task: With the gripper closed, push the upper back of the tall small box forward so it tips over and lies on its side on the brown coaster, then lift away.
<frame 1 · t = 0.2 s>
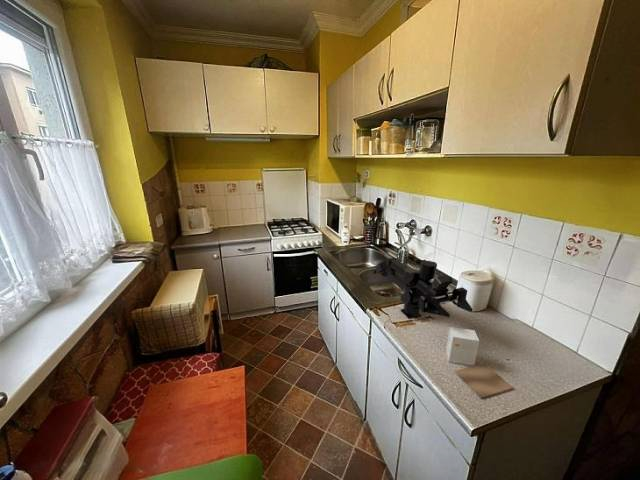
hand: (460, 313, 86), 16 cm above the worktop, tool horizontal, fingers open, 9 cm apart
small box: (459, 359, 89), on the worktop
brown coaster: (482, 380, 80), on the worktop
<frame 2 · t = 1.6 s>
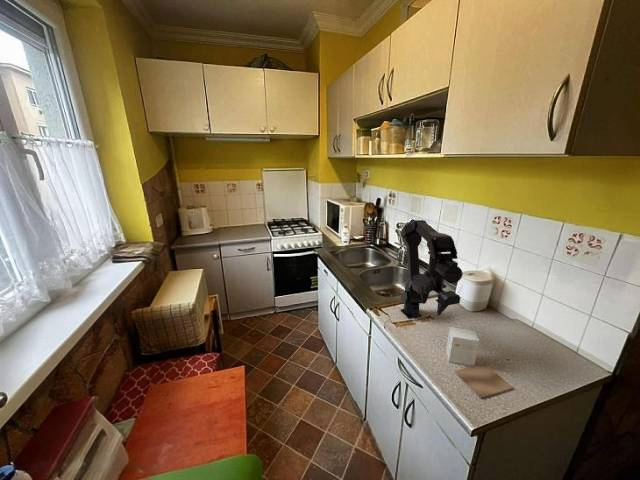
hand: (431, 308, 95), 13 cm above the worktop, tool pointing down, fingers open, 8 cm apart
nothing on the worktop moved.
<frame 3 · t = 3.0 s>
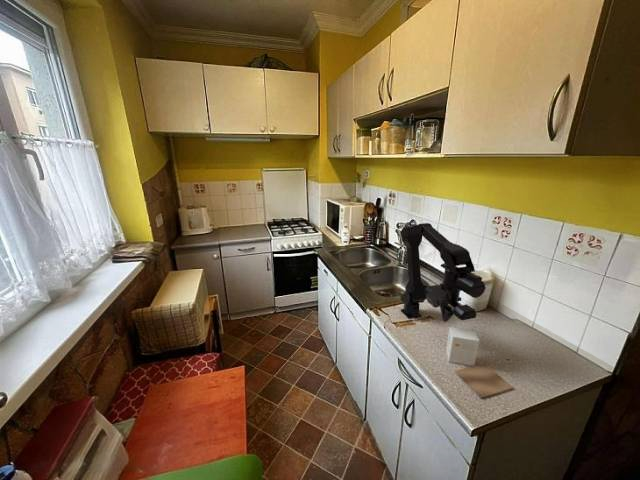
hand: (445, 321, 94), 9 cm above the worktop, tool pointing down, fingers closed
nothing on the worktop moved.
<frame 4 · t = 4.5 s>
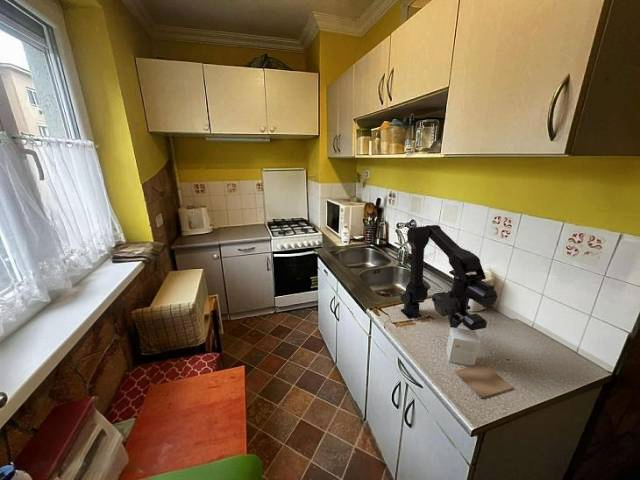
hand: (452, 330, 90), 8 cm above the worktop, tool pointing down, fingers closed
small box: (459, 358, 89), on the worktop, touching gripper
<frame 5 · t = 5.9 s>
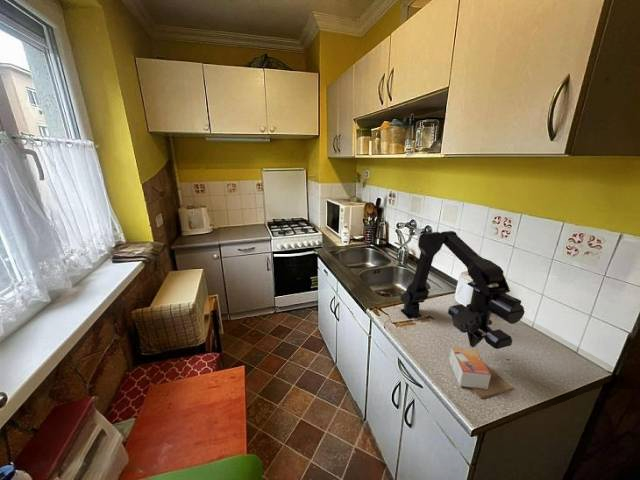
hand: (472, 346, 83), 8 cm above the worktop, tool pointing down, fingers closed
small box: (462, 354, 86), point 3 cm above the worktop, touching brown coaster
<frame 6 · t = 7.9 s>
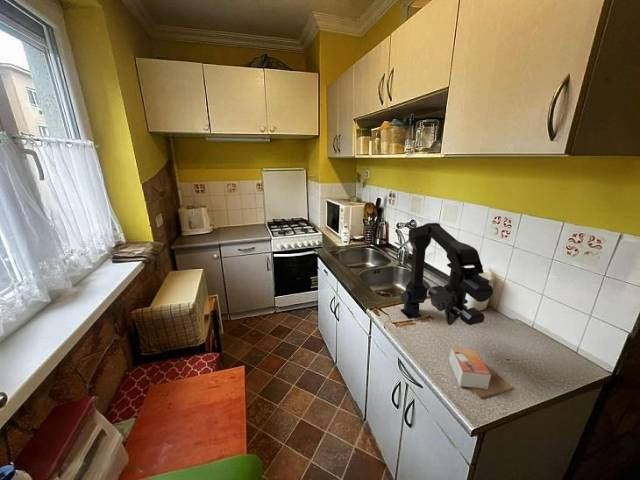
hand: (449, 324, 88), 12 cm above the worktop, tool pointing down, fingers closed
nothing on the worktop moved.
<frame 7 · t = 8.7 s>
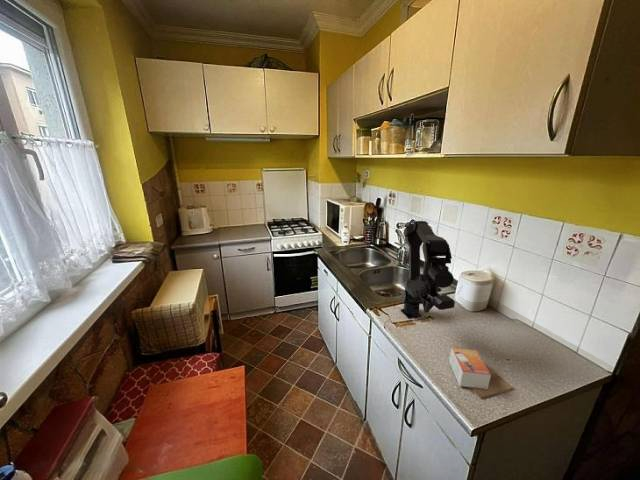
hand: (426, 312, 94), 12 cm above the worktop, tool pointing down, fingers closed
nothing on the worktop moved.
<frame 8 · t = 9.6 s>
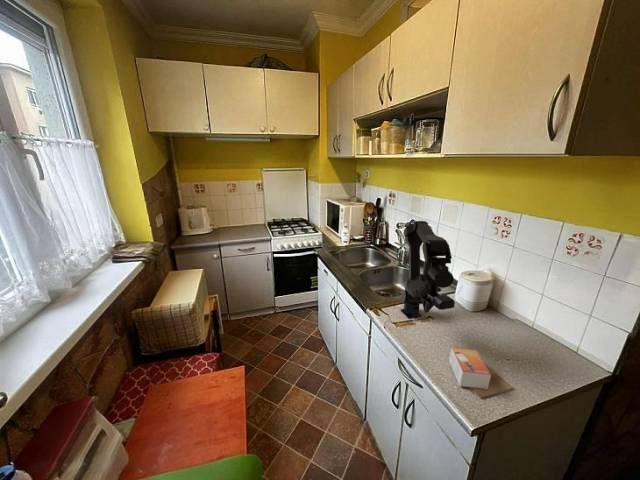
hand: (426, 312, 94), 12 cm above the worktop, tool pointing down, fingers closed
nothing on the worktop moved.
at the end: small box tilted 90°; small box touching brown coaster; small box inside the target area (2.5 cm from its centre), point 3.3 cm above the worktop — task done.
